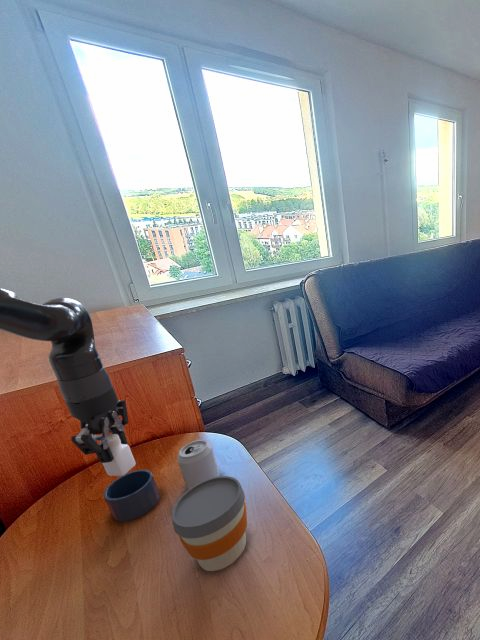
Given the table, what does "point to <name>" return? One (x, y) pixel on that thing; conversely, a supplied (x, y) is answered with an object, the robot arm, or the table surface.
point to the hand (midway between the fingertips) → (115, 452)
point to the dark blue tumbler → (132, 495)
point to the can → (197, 462)
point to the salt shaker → (118, 457)
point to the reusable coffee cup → (212, 522)
